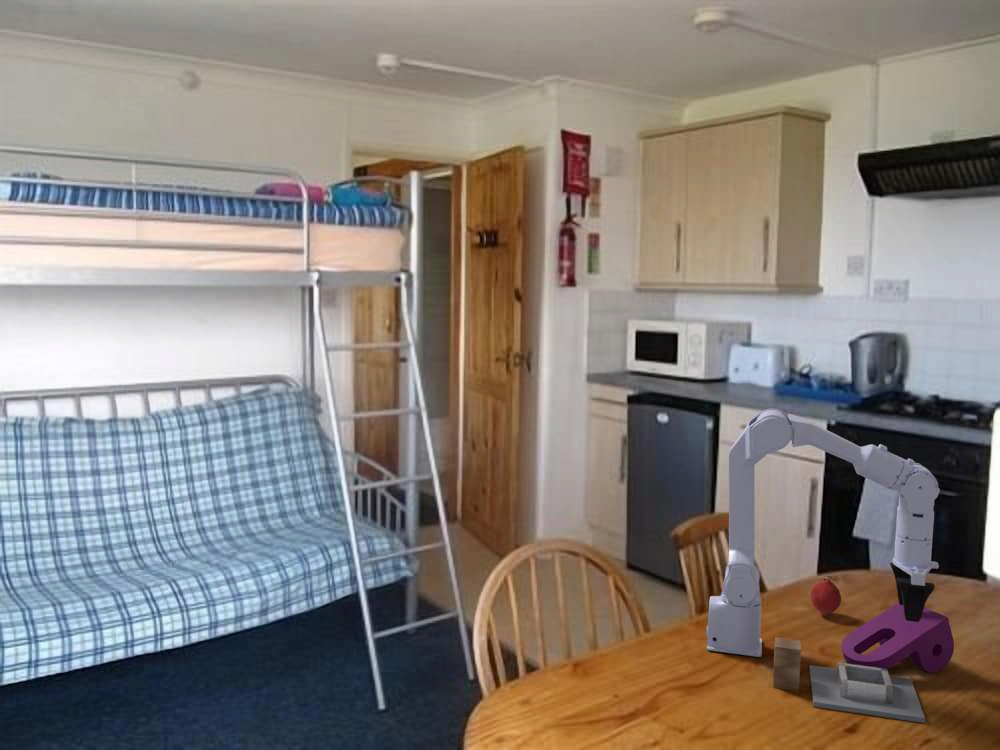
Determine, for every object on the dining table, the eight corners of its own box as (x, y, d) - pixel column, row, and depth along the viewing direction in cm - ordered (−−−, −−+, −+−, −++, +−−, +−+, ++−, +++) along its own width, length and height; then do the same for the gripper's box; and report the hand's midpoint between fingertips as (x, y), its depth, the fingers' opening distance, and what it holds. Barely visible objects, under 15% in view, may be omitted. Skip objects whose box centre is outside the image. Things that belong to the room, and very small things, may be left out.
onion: (814, 607, 179) (816, 570, 179) (843, 614, 176) (845, 576, 175) (806, 616, 175) (808, 577, 174) (835, 622, 171) (837, 583, 171)
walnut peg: (773, 687, 143) (775, 646, 142) (773, 677, 147) (775, 637, 146) (798, 691, 142) (800, 649, 141) (798, 680, 146) (800, 640, 145)
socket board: (813, 706, 137) (814, 686, 136) (809, 669, 150) (810, 651, 150) (924, 723, 132) (926, 702, 132) (910, 683, 145) (911, 664, 145)
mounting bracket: (882, 710, 146) (958, 658, 151) (870, 669, 144) (948, 617, 149) (841, 686, 154) (914, 637, 160) (829, 646, 152) (904, 598, 158)
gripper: (947, 550, 140) (942, 631, 142) (932, 527, 154) (927, 601, 156) (900, 545, 143) (895, 625, 144) (889, 523, 156) (884, 596, 158)
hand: (908, 612), depth 150 cm, fingers open, 7 cm apart
